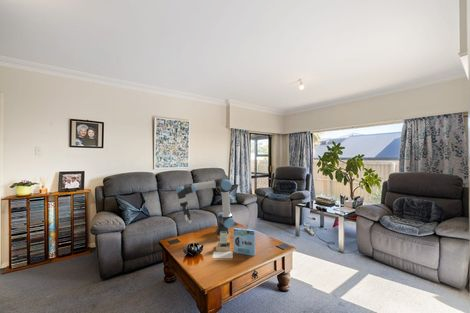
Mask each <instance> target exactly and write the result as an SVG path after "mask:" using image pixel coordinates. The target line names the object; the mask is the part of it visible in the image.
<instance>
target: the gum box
mask: <svg viewBox="0 0 470 313" xmlns="http://www.w3.org/2000/svg"><path fill="white" fill-rule="evenodd" d="M233 254H240V255H245V256H253V257H254V256H255V254H256V230H255V229H254V228H244V227H234V228H233Z"/></svg>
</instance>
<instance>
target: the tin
mask: <svg viewBox="0 0 470 313" xmlns="http://www.w3.org/2000/svg"><path fill="white" fill-rule="evenodd" d="M227 236H228V235H227V231H220V234H219V242H220V247H227V242H228V241H227Z"/></svg>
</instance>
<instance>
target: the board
mask: <svg viewBox="0 0 470 313" xmlns="http://www.w3.org/2000/svg"><path fill="white" fill-rule="evenodd" d="M233 254H234V250H233V251H231V250H230V251H213V252H212V257H211V258H212V259H233V257H234V255H233Z"/></svg>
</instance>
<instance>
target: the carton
mask: <svg viewBox="0 0 470 313" xmlns="http://www.w3.org/2000/svg"><path fill="white" fill-rule="evenodd" d="M215 247H216V248H215V252H231V241H227V247H220V241H217V242H216V246H215Z"/></svg>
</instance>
